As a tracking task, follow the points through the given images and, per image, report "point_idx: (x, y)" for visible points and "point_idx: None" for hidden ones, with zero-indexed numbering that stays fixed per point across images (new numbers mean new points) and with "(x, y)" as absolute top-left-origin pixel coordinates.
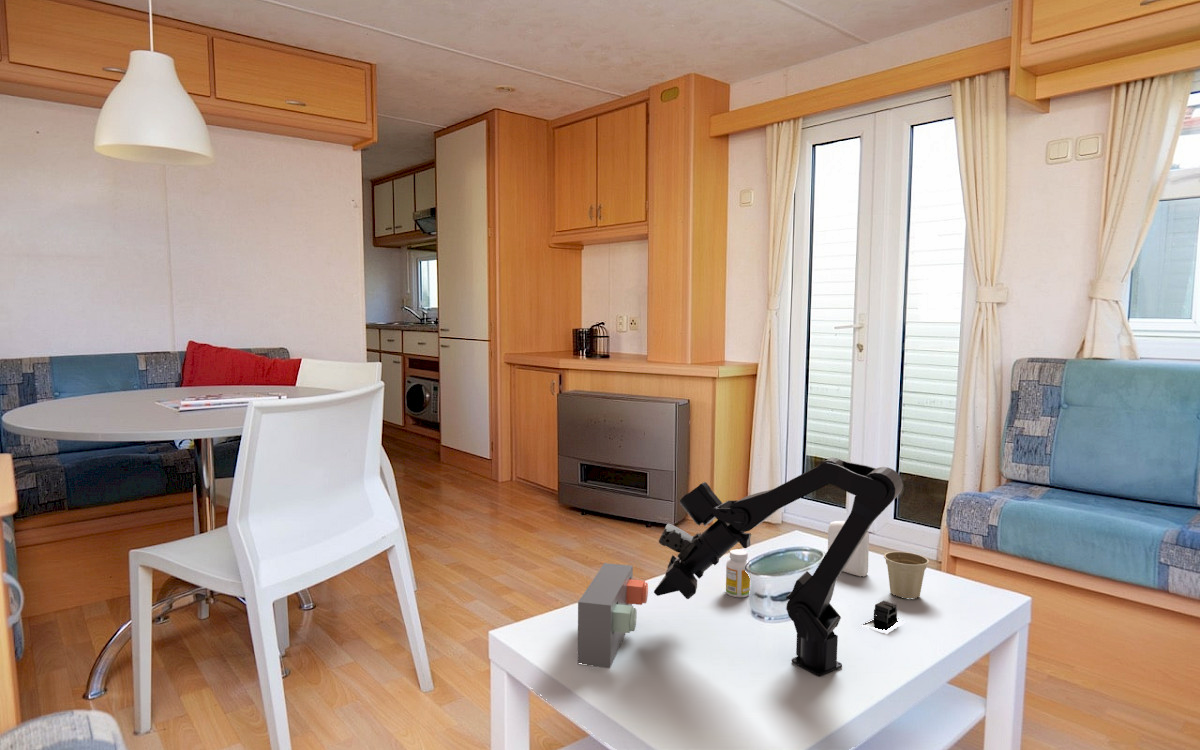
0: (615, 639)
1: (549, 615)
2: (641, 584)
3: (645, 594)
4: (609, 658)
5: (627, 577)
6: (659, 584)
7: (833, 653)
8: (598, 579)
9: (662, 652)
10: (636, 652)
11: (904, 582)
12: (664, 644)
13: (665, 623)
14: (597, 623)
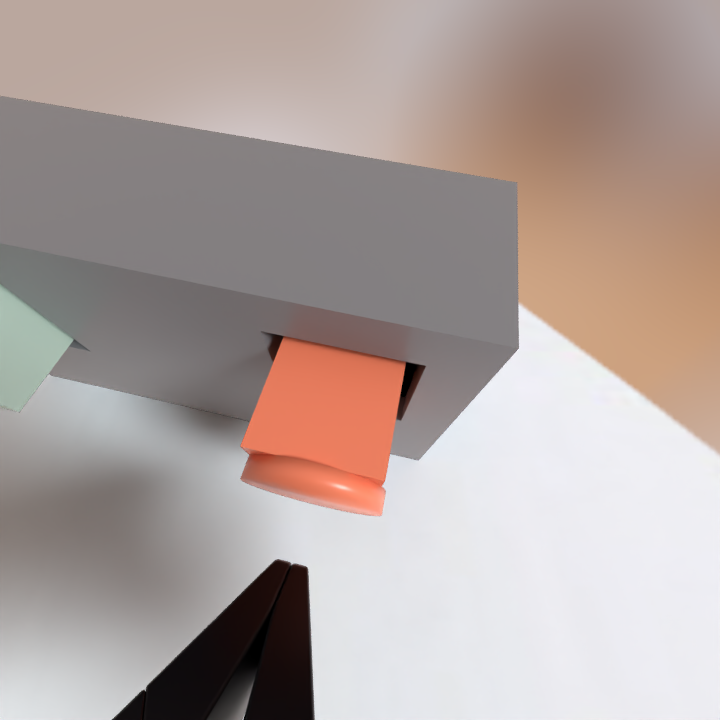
0: (82, 364)
1: None
2: (300, 444)
3: (268, 487)
4: None
5: (276, 311)
6: (230, 629)
7: None
8: (209, 149)
9: (104, 582)
10: (136, 466)
11: None
12: (177, 599)
13: (397, 625)
14: None
